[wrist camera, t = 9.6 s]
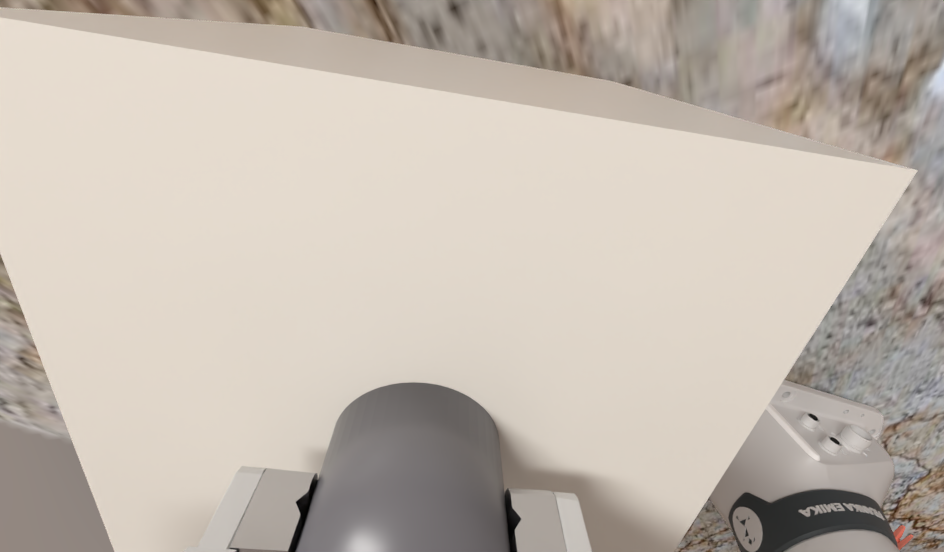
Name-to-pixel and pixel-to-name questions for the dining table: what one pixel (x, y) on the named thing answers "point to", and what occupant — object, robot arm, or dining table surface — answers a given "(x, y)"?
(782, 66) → the dining table surface
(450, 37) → the dining table surface
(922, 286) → the dining table surface
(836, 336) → the dining table surface
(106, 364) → the cube with grey knob
